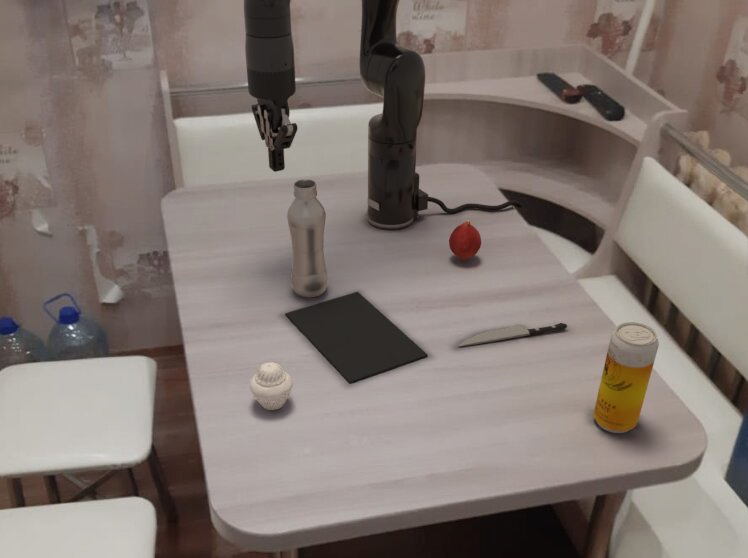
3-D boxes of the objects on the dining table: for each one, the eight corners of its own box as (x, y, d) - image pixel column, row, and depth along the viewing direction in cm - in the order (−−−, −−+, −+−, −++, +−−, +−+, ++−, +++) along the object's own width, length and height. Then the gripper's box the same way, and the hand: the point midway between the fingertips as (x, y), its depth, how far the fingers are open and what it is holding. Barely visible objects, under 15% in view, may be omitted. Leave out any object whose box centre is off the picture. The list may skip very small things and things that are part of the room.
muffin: (275, 385, 123) (272, 346, 119) (302, 403, 120) (300, 364, 115) (242, 403, 120) (238, 364, 115) (269, 422, 116) (266, 383, 112)
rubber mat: (357, 293, 144) (357, 291, 144) (427, 356, 129) (427, 354, 129) (285, 315, 138) (285, 313, 138) (349, 383, 123) (349, 381, 123)
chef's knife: (451, 338, 133) (457, 348, 131) (451, 332, 132) (457, 341, 130) (560, 321, 137) (568, 330, 134) (560, 315, 136) (569, 324, 134)
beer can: (587, 409, 119) (606, 321, 109) (628, 407, 119) (651, 319, 110) (600, 436, 114) (621, 347, 105) (642, 434, 114) (667, 345, 105)
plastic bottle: (330, 283, 146) (327, 176, 134) (325, 303, 141) (322, 193, 129) (294, 281, 147) (288, 174, 134) (288, 301, 142) (281, 191, 129)
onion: (443, 264, 152) (446, 224, 147) (453, 250, 156) (456, 210, 151) (474, 269, 150) (478, 229, 145) (483, 255, 154) (487, 216, 149)
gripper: (311, 70, 126) (314, 178, 137) (274, 49, 135) (280, 152, 145) (266, 78, 123) (273, 188, 134) (231, 55, 132) (240, 160, 143)
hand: (277, 169), depth 140 cm, fingers closed
